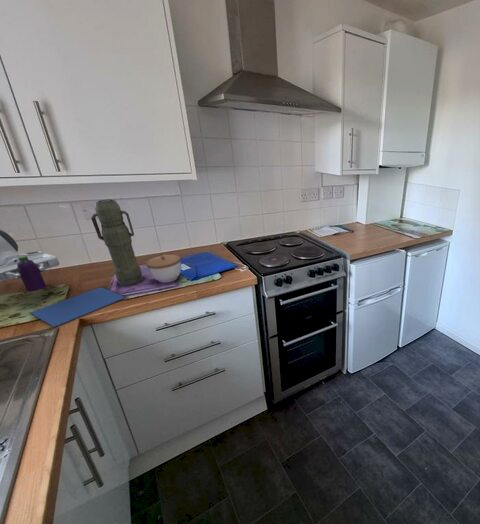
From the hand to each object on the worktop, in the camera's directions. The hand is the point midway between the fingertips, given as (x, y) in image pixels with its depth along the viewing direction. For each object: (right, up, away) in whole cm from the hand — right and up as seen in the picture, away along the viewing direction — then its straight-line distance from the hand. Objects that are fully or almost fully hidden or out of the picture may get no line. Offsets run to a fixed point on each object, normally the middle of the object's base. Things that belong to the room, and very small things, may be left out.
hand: (30, 272), depth 109 cm
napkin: (+16, -12, +3) cm, 20 cm away
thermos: (+21, -5, +21) cm, 30 cm away
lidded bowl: (+36, -4, +23) cm, 43 cm away
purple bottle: (-1, -6, +3) cm, 7 cm away
